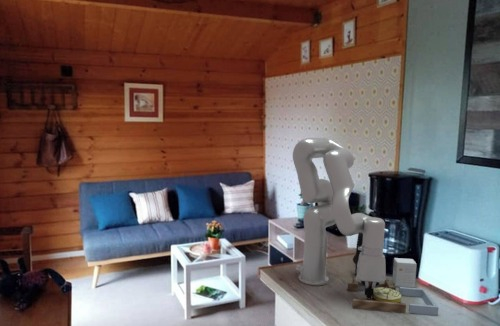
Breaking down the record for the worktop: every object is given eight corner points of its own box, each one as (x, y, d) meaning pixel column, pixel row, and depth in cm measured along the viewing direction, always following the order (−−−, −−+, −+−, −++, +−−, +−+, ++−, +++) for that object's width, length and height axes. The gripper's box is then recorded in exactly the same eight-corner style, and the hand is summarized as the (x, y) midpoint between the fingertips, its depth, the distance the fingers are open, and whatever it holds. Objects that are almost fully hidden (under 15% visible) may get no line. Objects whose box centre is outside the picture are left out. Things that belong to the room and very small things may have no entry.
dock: (409, 313, 148) (410, 305, 148) (398, 294, 164) (399, 286, 164) (437, 315, 147) (438, 307, 147) (423, 296, 163) (424, 288, 163)
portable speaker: (354, 278, 178) (357, 234, 176) (354, 270, 187) (357, 228, 185) (374, 280, 176) (378, 236, 174) (374, 273, 185) (377, 230, 183)
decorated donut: (385, 292, 165) (386, 283, 165) (406, 303, 156) (407, 294, 155) (365, 297, 160) (366, 287, 160) (386, 309, 151) (387, 299, 151)
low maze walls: (353, 308, 150) (353, 300, 150) (345, 283, 172) (345, 276, 172) (405, 312, 148) (406, 304, 148) (391, 287, 170) (391, 280, 170)
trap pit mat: (358, 290, 166) (358, 290, 166) (356, 285, 170) (356, 285, 170) (387, 293, 164) (387, 292, 164) (385, 288, 169) (385, 287, 169)
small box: (411, 282, 176) (413, 258, 175) (414, 288, 171) (417, 263, 169) (391, 281, 177) (393, 257, 176) (394, 286, 171) (397, 262, 170)
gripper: (353, 252, 152) (350, 299, 154) (395, 255, 151) (391, 303, 153) (350, 246, 160) (347, 291, 162) (390, 248, 158) (386, 294, 160)
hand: (368, 297), depth 157 cm, fingers closed
